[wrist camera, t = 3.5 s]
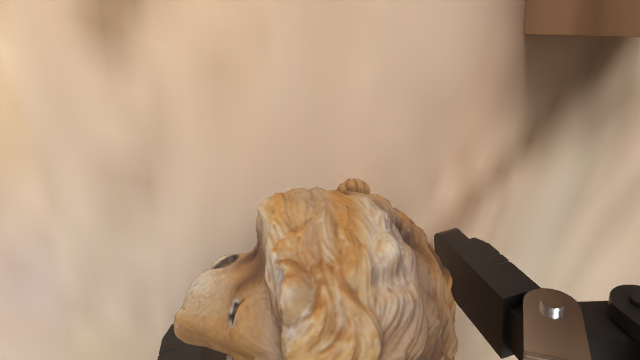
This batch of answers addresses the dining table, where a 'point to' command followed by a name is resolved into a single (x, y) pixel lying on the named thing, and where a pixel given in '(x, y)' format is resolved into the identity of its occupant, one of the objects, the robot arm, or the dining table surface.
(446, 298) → the lion figurine
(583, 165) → the dining table surface
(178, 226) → the dining table surface
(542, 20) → the walnut block
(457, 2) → the dining table surface
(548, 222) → the dining table surface
